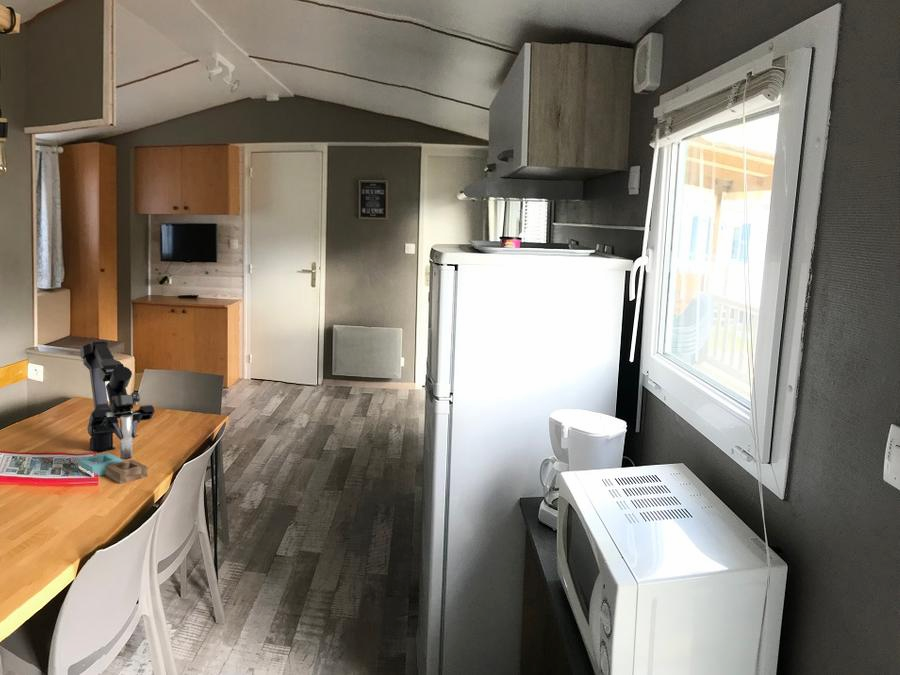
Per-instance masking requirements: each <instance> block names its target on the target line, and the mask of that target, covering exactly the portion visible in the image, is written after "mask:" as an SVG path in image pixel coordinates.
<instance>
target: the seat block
mask: <svg viewBox="0 0 900 675" xmlns="http://www.w3.org/2000/svg"><path fill="white" fill-rule="evenodd" d="M94 462H97V464H96V463H94ZM120 462H124V460H123V459H120V457H118V456H116V455H114V454H112V453H110V452H102V453H98V454H95V455H90V456H85V457H80V458H77V466H78V465H79V466H81V467H82V468H84V469H86V470H87V471H90V472H91V473H97V474H98V476H97V477H100V476H103V475H105V476H106V466H107V465H111V464H116V463H120Z"/></svg>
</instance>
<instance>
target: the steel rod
mask: <svg viewBox="0 0 900 675" xmlns="http://www.w3.org/2000/svg"><path fill="white" fill-rule="evenodd" d="M119 420H120V421H119V422H120V423H119V425H120V426H119V428H120V431H121V435H122V439H121V440H120V439H119V440H120V442H119V444H120V447H119V448H120V454H119V455H120V456H119V458H120V459H122V460H123V461H128V460H132V459H133V455H134V453H133V449H134V448H133V439H134V438H133V416H132V415H122V416H120V418H119Z"/></svg>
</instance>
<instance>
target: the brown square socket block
mask: <svg viewBox="0 0 900 675" xmlns="http://www.w3.org/2000/svg"><path fill="white" fill-rule="evenodd" d="M105 477H107V478H109V479H110V480H113V481H114V482H116V483H118V484H124V483H129V482H132V481H136V480H140V479H143V478H147V477H148V466H147V465H145V464H143V463H140V462H138V461H137V460H135V459H133V458H131V459H127V460H123V462H120V463H116V464H111V465H107V466H106V474H105Z"/></svg>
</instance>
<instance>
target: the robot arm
mask: <svg viewBox="0 0 900 675" xmlns="http://www.w3.org/2000/svg"><path fill="white" fill-rule="evenodd" d="M79 353H80V358H81V359H82V363H83V365H84V366H85V367H86V368H87V370H89V377H90V386H91V392H92V401H93V406H94V408H93V410H92V412H91V413H90V416H89V420H88V424H87V433H88V435H90V438H89V447H88V448H89V450H91V451H93V452H95V453H97V454H101V453H106V452H109V451H113V450H116V447H115V446H114V434H115V436H116V437H117V438H118V439H119V440H121V439H122V435H121V431H120V426H119V425H120V424H119V420H118V419H120V416H122V415H132V416H133V439H134V438H136V435H137V434H136V432H137V427H138V424H140V422H143V421H147V420H148V421H149V420H151V419H152V418H153V416H154V414H155V412H156V411H155V408H154V406H153V405H152V404H147V405H140V406H139V408H138V409H137V410H132V409H134V405H135V403H139V402H140V401H141V400H140V399H141V398H140V394H139V391H133V392H131V394H128V391H127V388H128V386H129V384H130V381H131V378H132V376H133V373H132V371H131V369H130V368H128V367H127V366H125V365H124V364H123V363H122V362H121V361H120V360H117V359H115V357H114V356H113V354H112V352H111V350H110V348H109V344H108V341H107V340H94V341H90V342H89V343H88V344H86V345H82V347H81V348H80V352H79ZM106 382H107V384H106Z"/></svg>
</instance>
